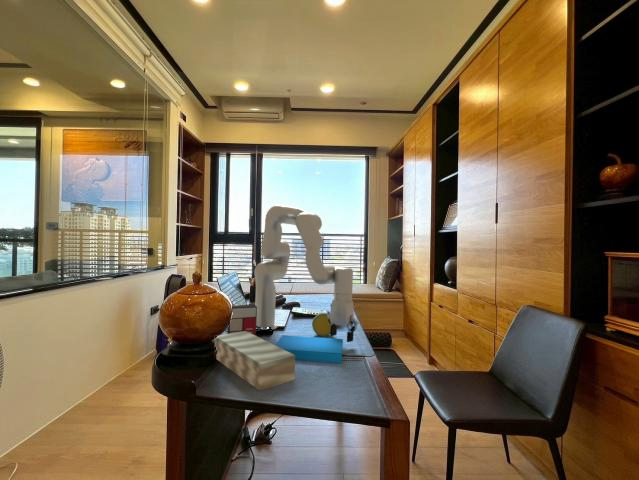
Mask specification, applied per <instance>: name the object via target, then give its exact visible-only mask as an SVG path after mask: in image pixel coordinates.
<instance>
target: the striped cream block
mask: <svg viewBox="0 0 639 480" xmlns="http://www.w3.org/2000/svg"><path fill="white" fill-rule="evenodd" d="M216 336H217V337H216V338H215V337H214V348H215V347H216V350H217V354H216V360H217V361H219V362H220V364H222V365H223V366H224V367H226V368H228V369H229V370H230V371H232V372H233V373H235V374H236V375H237V376H239V377H240V378H242V379H243V380H244V381H246V383H248V384H250V385H251V386H253V388H255V389H257V390H258V391H265V390H267V389H270V388H273V387H276V386H280V385H282V384H286V383H289V382H292V381H294V380H295V372H296V371H295V367H296V360H295V355H294V354H292V353H290V352H288V351H286V350H284V349H282V348H280V347H277V346H275V345H276V344H273V343H271V342H270V341H267V340H266V339H263V338H261V337H259V336H257V335H256V336H255V335H253V334H251V333H249V332H247V331H242V332H237V333H231V334H227V333H226V334H221V335H220V334H219V335H216Z"/></svg>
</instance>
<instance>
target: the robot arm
mask: <svg viewBox="0 0 639 480" xmlns="http://www.w3.org/2000/svg"><path fill="white" fill-rule="evenodd" d="M322 223H323V222H322V219H321V217H320V215H317V214H316V213H313V212H309V211H307V210H304V209H301V208H299V207H295V206H292V205H291V206H290V205H285V204H276V205H274V206H271V207H270V208H269V209H268V210H267V211H266V215H265V221H264V232H263V237H262V243H261V248H260V249H261V250H260V254H261V256H262V258H264V259H267V261H261V262H259V263H257V264H256V266H255V268H254V270H253V271H254V281H255V299H254V300H255V304H254V305H255V306H257V320H256V326H258V327H271V329H272V330H276V329H277V328H278V327H277V325H274V324H275V323H276V322H275V320H276V319H275V317H276V299H277V298H276V296H277V295H276V294H277V293H276V291H277V290H276V286H275V281H278V280H281V279H284V278H285V276H286V275H287V272H288V267H289V261H290V255H291V247H290V245H289V243H288V242H287V241H286V240H284V239H282V235H283V227H282V224H286V225H292V226H293V225H294V226H295V227H296V228H297V231H298V234H299V235H300V238H301V240H302V243H303V244H304V247H305V265H306V268H307V271H308V273H309V275H310V277H311V279H312V280H313V281H314V283H315V284H317V285H327V284H331V283H332V284H333V283H334V286H333V287H334V288H333V289H334V290H333V291H334V292H333V294H332V295H333V299H332V300H331V303H330V305H331V306H330V311H329V312H330V313H329V314H327V317H328V321H329V323H330V324H329V325H330V326H331V329H330V335H329V336H330V337H335V336H337V334H338V333H337V331H338V327H337V326H335V325H339V326H341V327H343V328H346V329H347V332H346V342H347V343H350V342H353V341H354V332H356V330H357V329H358V327H359V320H357V319H356V318H355V310H354V301H353V284H354V283H353V280H354V278H353V277H354V271H353V268H351V267H346V266H345V267H344V266H340V267H339V266H335V265H324V263H323V261H322V259H321V254H320V252H321V251H320V250H321V247H322V246H323V245H324V239H323V237H322V234H321V232H320V230H321V228H322V225H323V224H322ZM272 330H271V331H272Z"/></svg>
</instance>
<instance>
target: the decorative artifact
mask: <svg viewBox="0 0 639 480" xmlns="http://www.w3.org/2000/svg"><path fill="white" fill-rule="evenodd" d="M311 322H312V323H311V325H312V330H313V332H314V333H315V335H317V336H318V337H319V336H320V337H328V336H330V329H331V326H330V325H329V324H330V323H329V321H328V317H327V312H320V313H318V314H316V315H315V316H314V317H313V319H312V321H311Z"/></svg>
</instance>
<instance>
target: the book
mask: <svg viewBox="0 0 639 480" xmlns="http://www.w3.org/2000/svg"><path fill="white" fill-rule="evenodd" d="M343 343H344V338H343V339H342V338H331V337H330V338H329V337H328V338H327V337H316V336H315V337H314V336H300V335H299V336H297V335H284V334H283V335H281V336H280V337H279V339H278V341H277V342H276V343H275V344H274V345H275V346H277V347H280V348H282V349H284V350H286V351H288V352H290V353H292V354H294V355H295V361H303V362H304V361H305V362H318V363H319V362H320V363H330V364H331V363H333V364H342V363H343V345H344V344H343Z"/></svg>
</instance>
